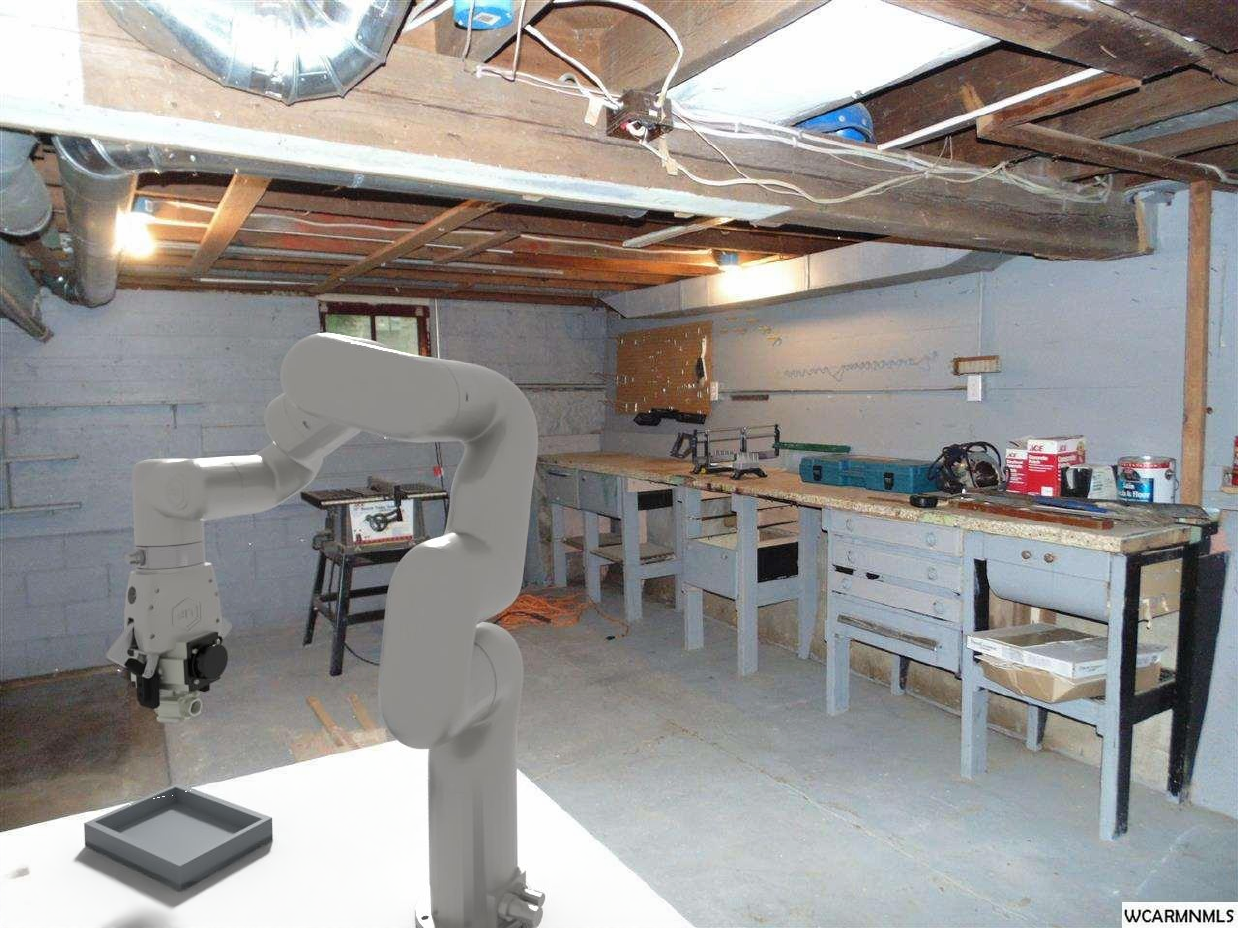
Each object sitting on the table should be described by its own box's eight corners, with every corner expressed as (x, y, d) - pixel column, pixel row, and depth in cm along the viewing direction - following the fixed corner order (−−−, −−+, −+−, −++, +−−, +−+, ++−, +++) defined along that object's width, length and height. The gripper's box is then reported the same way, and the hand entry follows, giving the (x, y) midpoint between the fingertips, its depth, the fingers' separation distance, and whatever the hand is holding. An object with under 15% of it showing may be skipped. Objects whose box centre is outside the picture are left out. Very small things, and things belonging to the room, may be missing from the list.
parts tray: (272, 840, 96) (272, 817, 96) (180, 891, 85) (179, 866, 85) (178, 803, 105) (177, 783, 105) (85, 846, 94) (84, 822, 94)
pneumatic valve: (154, 708, 98) (149, 619, 97) (232, 714, 96) (227, 623, 95) (118, 726, 93) (112, 631, 92) (200, 733, 90) (194, 636, 90)
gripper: (114, 571, 84) (120, 727, 85) (252, 548, 99) (255, 682, 100) (78, 565, 87) (84, 716, 88) (216, 545, 103) (220, 673, 104)
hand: (175, 696), depth 94 cm, fingers closed on pneumatic valve, 5 cm apart
